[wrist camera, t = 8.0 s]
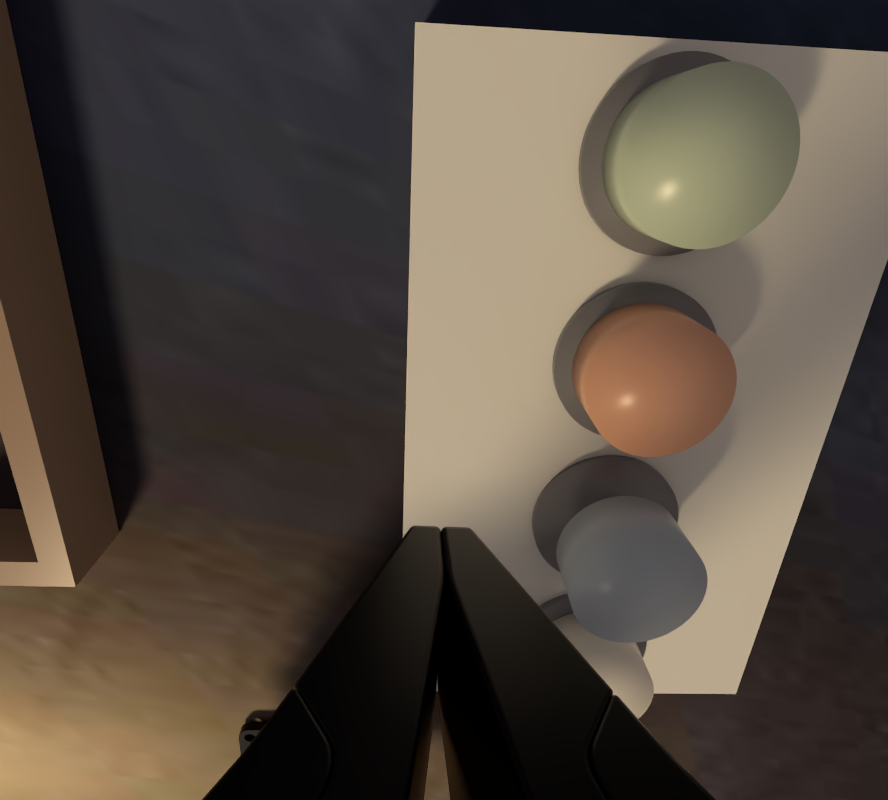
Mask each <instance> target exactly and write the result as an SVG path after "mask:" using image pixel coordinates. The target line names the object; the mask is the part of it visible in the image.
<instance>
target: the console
mask: <svg viewBox="0 0 888 800" xmlns="http://www.w3.org/2000/svg"><path fill="white" fill-rule="evenodd" d="M732 61H735V62H742V63H747V64H750V65H754V66H757V67H759V68H761V69H763V70H765V71H767V72H768V73H769V74H771V75H772V76H773V77H775V78H776V79H777V80H778V81H779V82H780V83H781V84H782V85H783V87H784V88H785V89H786V91H787V92H788V94H789V95H790V97H791V99H792V101H793V104H794V106H795V109H796V112H797V115H798V120H799V126H800V151H799V157H798V162H797V166H796V169H795V172H794V175H793V178H792V180H791V182H790V185H789V187H788V189H787V191H786V192H785V194H784V196H783V198H782V199H781V201H780V202H779V203H778V205H777V206H776V207H775V209H774V210H773V211H772V212H771V213H770V215H769V216H768V217H767V218H766V219H765V220H764V221H763V222H762V223H760V224H759V225H758V226H757V227H756V228H755V229H753V230H752V231H750V232H749V233H748V234H746V235H744V236H743V237H741V238H739V239H737V240H735V241H733V242H730V243H728V244H726V245H722V246H719V247H715V248H709V249H686V248H681V247H677V246H673V245H671V244H668V243H665V242H662V241H660V240H657V239H654V238H652V237H649V236H646V235H644V234H641V233H639V232H637V231H635V230H633V229H632V228H630V227H629V226H627V225H626V224H625V223H624V222H623V221H622V220H621V219H620V218H619V217H618V216H617V215H616V213H615V212H614V210H613V209H612V207H611V205H610V203H609V201H608V199H607V196H606V193H605V189H604V185H603V178H602V161H603V153H604V148H605V144H606V141H607V138H608V135H609V133H610V131H611V128H612V126H613V124H614V122H615V121H616V119H617V117H618V116H619V114H620V113H621V112H622V110H623V109H624V108H625V106H626V105H627V104H628V103H629V102H630V101H631V100H632V99H633V98H634V97H635V96H636V95H637V94H638V93H640V92H641V91H642V90H643V89H645V88H646V87H648V86H650V85H651V84H653V83H655V82H657V81H659V80H661V79H663V78H667V77H670V76H673V75H676V74H679V73H682V72H685V71H689V70H692V69H695V68H698V67H701V66H704V65H708V64H711V63H717V62H732ZM887 260H888V52H880V51H864V50H848V49H832V48H816V47H801V46H785V45H769V44H753V43H737V42H722V41H706V40H690V39H674V38H658V37H642V36H627V35H611V34H595V33H579V32H563V31H548V30H532V29H516V28H500V27H484V26H469V25H453V24H437V23H421V22H415V49H414V90H413V132H412V174H411V215H410V257H409V299H408V340H407V382H406V424H405V466H404V507H403V537H404V535H405V534H406V533H407V531H408V530H409V529H410V528H411V527H412V526H437V527H438V528H440V530H442V528H444V527H469V528H471V529H472V530H473V531H474V532H475V533H476V534H477V536H478V537H479V538H480V539H481V540H482V541H483V542H484V544H485V545H486V546H487V547H488V548H489V549H490V550H491V552H492V553H493V554H494V555H495V556H496V557H497V558H498V560H499V561H500V562H501V563H502V564H503V565H504V566H505V568H506V569H507V570H508V571H509V572H510V573H511V575H512V576H513V577H514V578H515V579H516V580H517V581H518V583H519V584H520V585H521V586H522V587H523V588H524V589H525V591H526V592H527V593H528V594H529V595H530V596H531V597H532V599H533V600H534V601H535V602H536V603H537V604H538V605H539V607H540V608H541V609H542V610H543V611H544V612H545V613H546V615H547V616H548V617H549V618H550V619H551V620H552V621H554V620H556V619H558V618H560V617H563V616H565V615H568V614H572V613H574V612H573V610H572V607H571V604H570V601H569V597H568V594H567V591H566V588H565V585H564V582H563V579H562V576H561V573H560V570H559V566H558V563H557V557H556V550H557V544H558V540H559V537H560V535H561V533H562V531H563V529H564V527H565V526H566V525H567V523H568V522H569V521H570V520H571V519H572V518H573V517H574V516H575V515H576V514H577V513H578V512H580V511H581V510H582V509H584V508H585V507H587V506H589V505H591V504H593V503H595V502H597V501H600V500H603V499H606V498H610V497H616V496H638V497H643V498H646V499H649V500H652V501H654V502H656V503H658V504H660V505H661V506H663V507H664V508H665V509H666V510H667V511H668V512H669V513H670V514H671V515H672V517H673V518H674V519H675V521H676V522H677V524H678V525H679V527H680V528H681V530H682V531H683V533H684V534H685V536H686V537H687V539H688V540H689V541H690V543H691V544H692V546H693V547H694V549H695V550H696V552H697V553H698V555H699V556H700V558H701V559H702V561H703V563H704V565H705V568H706V571H707V578H708V581H707V589H706V594H705V596H704V599H703V601H702V603H701V605H700V606H699V608H698V609H697V611H696V612H695V613H694V614H693V615H692V617H691V618H690V619H689V620H687V621H686V622H685V623H684V624H683V625H681V626H680V627H678V628H677V629H675V630H674V631H672V632H670V633H668V634H666V635H664V636H661V637H659V638H656V639H652V640H648V641H644V642H636V644H637V646H638V648H639V651H640V653H641V655H642V658H643V660H644V662H645V665H646V667H647V669H648V672H649V674H650V676H651V679H652V681H653V686H654V693H681V694H736V692H737V689H738V686H739V683H740V680H741V677H742V675H743V672H744V669H745V666H746V663H747V660H748V657H749V654H750V652H751V649H752V646H753V643H754V640H755V637H756V634H757V632H758V629H759V626H760V623H761V620H762V617H763V614H764V612H765V609H766V606H767V603H768V600H769V597H770V594H771V592H772V589H773V586H774V583H775V580H776V577H777V574H778V572H779V569H780V566H781V563H782V560H783V557H784V554H785V551H786V549H787V546H788V543H789V540H790V537H791V534H792V531H793V529H794V526H795V523H796V520H797V517H798V514H799V511H800V509H801V506H802V503H803V500H804V497H805V494H806V491H807V489H808V486H809V483H810V480H811V477H812V474H813V471H814V469H815V466H816V463H817V460H818V457H819V454H820V451H821V448H822V446H823V443H824V440H825V437H826V434H827V431H828V428H829V426H830V423H831V420H832V417H833V414H834V411H835V408H836V406H837V403H838V400H839V397H840V394H841V391H842V388H843V386H844V383H845V380H846V377H847V374H848V371H849V368H850V366H851V363H852V360H853V357H854V354H855V351H856V348H857V345H858V343H859V340H860V337H861V334H862V331H863V328H864V325H865V323H866V320H867V317H868V314H869V311H870V308H871V305H872V303H873V300H874V297H875V294H876V291H877V288H878V285H879V283H880V280H881V277H882V274H883V271H884V268H885V265H886V263H887ZM642 302H652V303H660V304H664V305H668V306H670V307H672V308H675V309H677V310H678V311H680V312H682V313H683V314H685V315H686V316H688V317H690V318H691V319H693V320H695V321H696V322H698V323H699V324H701V325H703V326H704V327H706V328H708V329H709V330H711V331H712V332H714V333H715V334H716V335H718V336H719V337H720V338H721V339H722V340H723V341H724V343H725V344H726V345H727V347H728V348H729V350H730V351H731V354H732V356H733V358H734V361H735V366H736V372H737V384H736V391H735V395H734V398H733V401H732V404H731V406H730V408H729V410H728V412H727V414H726V415H725V417H724V418H723V420H722V421H721V422H720V424H719V425H718V426H717V427H716V428H715V429H714V430H713V431H712V432H711V433H710V434H709V435H708V436H707V437H706V438H704V439H703V440H702V441H700V442H699V443H697V444H695V445H694V446H692V447H690V448H688V449H686V450H684V451H681V452H678V453H675V454H671V455H668V456H661V457H641V456H635V455H631V454H628V453H625V452H623V451H621V450H619V449H617V448H615V447H614V446H612V445H611V444H610V443H608V442H607V441H606V440H605V439H604V438H603V437H602V435H601V434H600V433H599V431H598V430H597V428H596V427H595V425H594V423H593V422H592V420H591V419H590V417H589V415H588V414H587V412H586V411H585V409H584V407H583V406H582V404H581V403H580V401H579V399H578V397H577V395H576V393H575V390H574V386H573V381H572V365H573V360H574V356H575V353H576V351H577V348H578V346H579V344H580V342H581V340H582V339H583V337H584V336H585V334H586V333H587V332H588V331H589V329H590V328H591V327H592V326H593V325H594V324H595V323H596V322H597V321H598V320H600V319H601V318H602V317H604V316H605V315H607V314H608V313H610V312H612V311H614V310H616V309H618V308H621V307H623V306H627V305H630V304H635V303H642ZM436 691H438V684H437V689H436Z"/></svg>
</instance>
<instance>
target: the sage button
mask: <svg viewBox="0 0 888 800" xmlns="http://www.w3.org/2000/svg"><path fill="white" fill-rule="evenodd" d="M799 151H800V126H799V120H798V115H797V112H796V109H795V106H794V104H793V101H792V99H791V97H790V95H789V94H788V92H787V91H786V89H785V88H784V87H783V85H782V84H781V83H780V82H779V81H778V80H777V79H776V78H775V77H773V76H772V75H771V74H769V73H768V72H767V71H765V70H763V69H761V68H759V67H757V66H754V65H750V64H747V63H742V62H735V61H732V62H717V63H711V64H708V65H704V66H701V67H698V68H695V69H692V70H689V71H685V72H682V73H679V74H676V75H673V76H670V77H667V78H663V79H661V80H659V81H657V82H655V83H653V84H651V85H650V86H648V87H646V88H645V89H643V90H642V91H641V92H640V93H638V94H637V95H636V96H635V97H634V98H633V99H632V100H631V101H630V102H629V103H628V104H627V105H626V106H625V108H624V109H623V110H622V112H621V113H620V114H619V116H618V117H617V119H616V121H615V122H614V124H613V126H612V128H611V131H610V133H609V135H608V138H607V141H606V144H605V148H604V153H603V161H602V178H603V185H604V189H605V193H606V196H607V199H608V201H609V203H610V205H611V207H612V209H613V210H614V212H615V213H616V215H617V216H618V217H619V218H620V219H621V220H622V221H623V222H624V223H625V224H626V225H627V226H629V227H630V228H632V229H633V230H635V231H637V232H639V233H641V234H644V235H646V236H649V237H652V238H654V239H657V240H660V241H662V242H665V243H668V244H671V245H673V246H677V247H681V248H686V249H709V248H715V247H719V246H722V245H726V244H728V243H730V242H733V241H735V240H737V239H739V238H741V237H743V236H744V235H746V234H748V233H749V232H750V231H752V230H753V229H755V228H756V227H757V226H758V225H759V224H760V223H762V222H763V221H764V220H765V219H766V218H767V217H768V216H769V215H770V213H771V212H772V211H773V210H774V209H775V207H776V206H777V205H778V203H779V202H780V201H781V199H782V198H783V196H784V194H785V192H786V191H787V189H788V187H789V185H790V182H791V180H792V178H793V175H794V172H795V169H796V166H797V162H798V157H799Z"/></svg>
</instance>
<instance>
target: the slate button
mask: <svg viewBox="0 0 888 800" xmlns="http://www.w3.org/2000/svg"><path fill="white" fill-rule="evenodd" d="M556 557H557V563H558V566H559V570H560V573H561V576H562V579H563V582H564V585H565V588H566V591H567V594H568V597H569V601H570V604H571V607H572V610H573V612H574V615H575V617H576V618H577V620H578V621H579V623H580V624H581V625H582V626H583V627H584V628H585V629H586V630H588V631H589V632H590V633H592V634H594V635H595V636H598V637H600V638H602V639H605V640H609V641H613V642H620V643H636V642H644V641H648V640H652V639H656V638H659V637H661V636H664V635H666V634H668V633H670V632H672V631H674V630H675V629H677V628H678V627H680V626H681V625H683V624H684V623H685V622H686V621H687V620H689V619H690V618H691V617H692V615H693V614H694V613H695V612H696V611H697V609H698V608H699V606H700V605H701V603H702V601H703V599H704V596H705V594H706V589H707V581H708V578H707V571H706V568H705V565H704V563H703V561H702V559H701V558H700V556H699V555H698V553H697V552H696V550H695V549H694V547H693V546H692V544H691V543H690V541H689V540H688V539H687V537H686V536H685V534H684V533H683V531H682V530H681V528H680V527H679V525H678V524H677V522H676V521H675V519H674V518H673V517H672V515H671V514H670V513H669V512H668V511H667V510H666V509H665V508H664V507H663V506H661V505H660V504H658V503H656V502H654V501H652V500H649V499H646V498H643V497H638V496H616V497H610V498H606V499H603V500H600V501H597V502H595V503H593V504H591V505H589V506H587V507H585V508H584V509H582V510H581V511H580V512H578V513H577V514H576V515H575V516H574V517H573V518H572V519H571V520H570V521H569V522H568V523H567V525H566V526H565V527H564V529H563V531H562V533H561V535H560V537H559V540H558V544H557V550H556Z"/></svg>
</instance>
